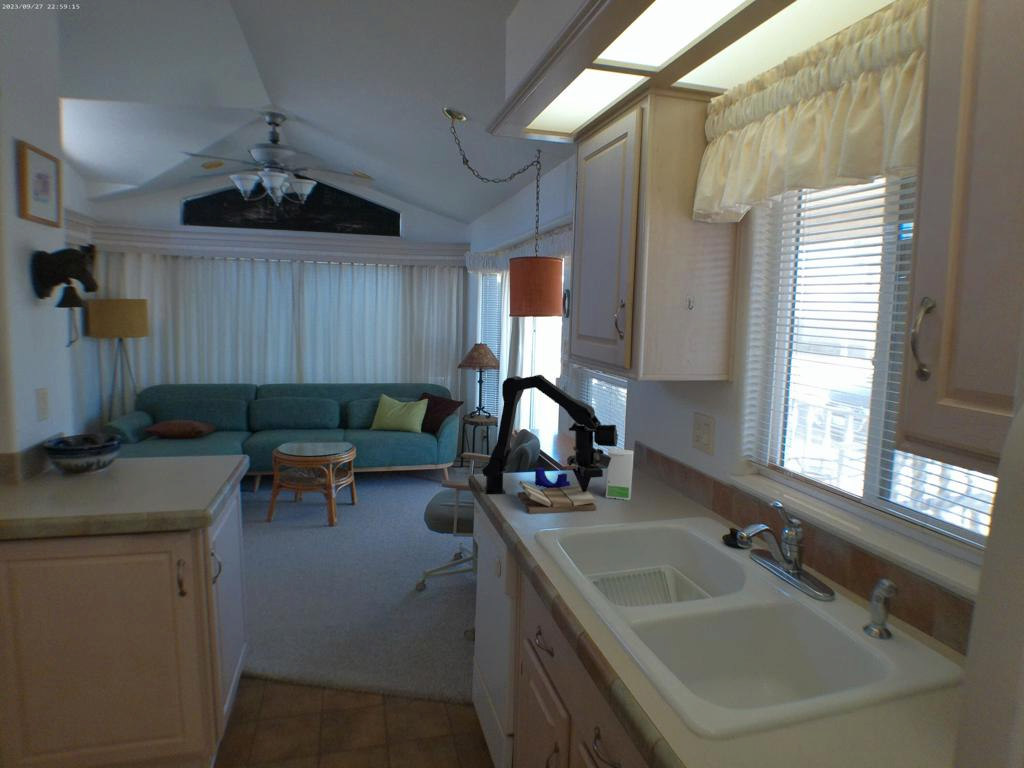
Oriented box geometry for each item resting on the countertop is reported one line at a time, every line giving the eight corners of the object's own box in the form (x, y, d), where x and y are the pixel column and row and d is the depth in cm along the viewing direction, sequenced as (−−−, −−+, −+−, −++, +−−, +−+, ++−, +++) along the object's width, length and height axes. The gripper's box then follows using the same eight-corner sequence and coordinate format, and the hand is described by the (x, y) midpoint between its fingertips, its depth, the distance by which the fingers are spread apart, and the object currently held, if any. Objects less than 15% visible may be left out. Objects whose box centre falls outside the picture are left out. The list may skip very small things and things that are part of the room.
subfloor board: (517, 496, 199) (517, 492, 199) (578, 493, 204) (578, 489, 203) (529, 514, 182) (529, 509, 182) (596, 510, 186) (596, 506, 186)
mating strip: (540, 492, 200) (540, 488, 200) (557, 491, 201) (557, 487, 201) (553, 507, 184) (553, 503, 184) (571, 506, 185) (572, 502, 185)
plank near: (518, 483, 198) (520, 480, 198) (537, 491, 200) (538, 488, 200) (529, 498, 182) (531, 494, 182) (549, 506, 184) (551, 503, 184)
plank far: (559, 491, 201) (559, 487, 201) (579, 487, 202) (579, 484, 202) (573, 505, 186) (573, 502, 185) (595, 502, 187) (595, 498, 187)
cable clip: (569, 490, 208) (569, 473, 208) (560, 492, 205) (561, 475, 204) (543, 483, 217) (544, 466, 216) (535, 485, 214) (535, 468, 213)
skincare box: (605, 498, 199) (606, 452, 197) (606, 492, 205) (608, 447, 204) (631, 500, 197) (632, 453, 195) (632, 494, 203) (633, 449, 202)
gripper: (619, 449, 185) (618, 498, 187) (598, 437, 203) (598, 482, 205) (584, 451, 183) (584, 501, 185) (566, 439, 201) (566, 484, 203)
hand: (584, 492), depth 194 cm, fingers closed, pressing on plank far
